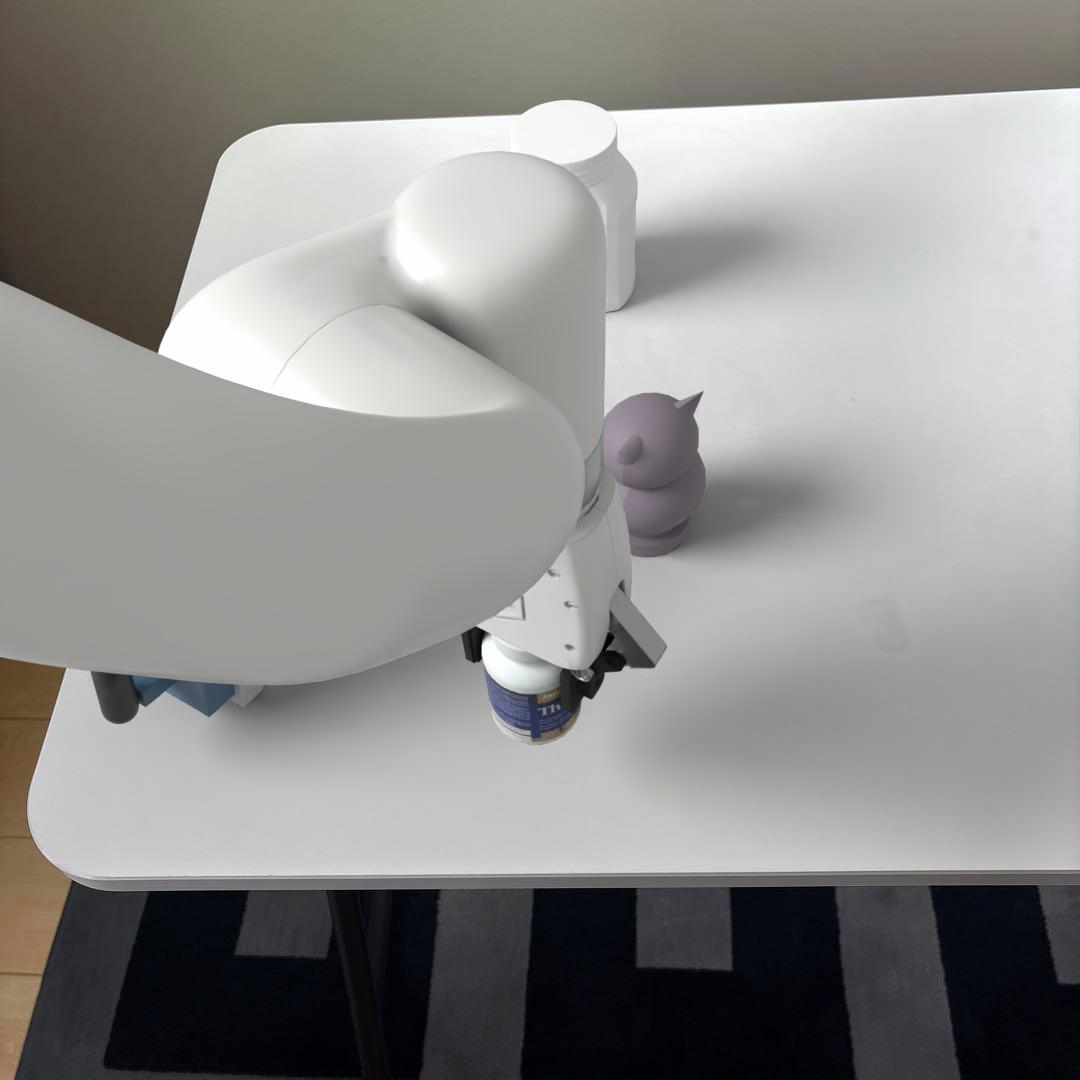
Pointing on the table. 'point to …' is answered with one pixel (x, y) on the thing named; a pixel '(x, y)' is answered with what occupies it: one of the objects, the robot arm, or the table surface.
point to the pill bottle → (524, 693)
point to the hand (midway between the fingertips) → (532, 664)
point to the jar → (590, 176)
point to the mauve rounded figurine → (655, 468)
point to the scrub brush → (129, 691)
